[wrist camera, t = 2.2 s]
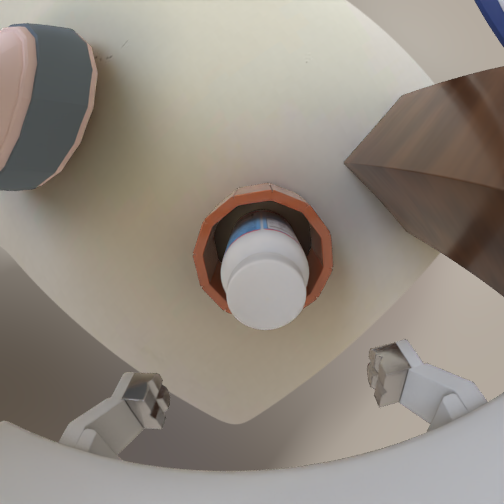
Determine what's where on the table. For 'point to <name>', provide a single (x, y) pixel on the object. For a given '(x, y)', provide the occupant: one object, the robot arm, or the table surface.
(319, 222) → the desk pot
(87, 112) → the desk lamp
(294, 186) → the table surface
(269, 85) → the table surface
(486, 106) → the riser
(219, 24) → the table surface
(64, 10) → the table surface
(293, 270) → the pill bottle
